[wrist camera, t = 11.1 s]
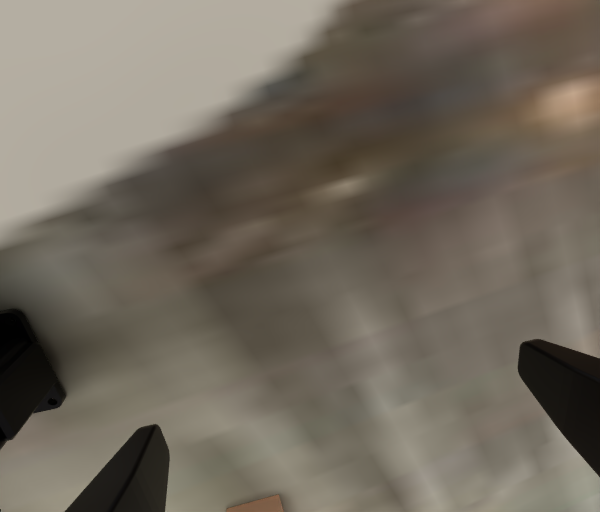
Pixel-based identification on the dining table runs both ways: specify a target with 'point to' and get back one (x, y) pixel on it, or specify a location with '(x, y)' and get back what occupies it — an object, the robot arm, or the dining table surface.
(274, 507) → the peg
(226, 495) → the dining table surface
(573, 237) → the dining table surface
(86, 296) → the dining table surface
